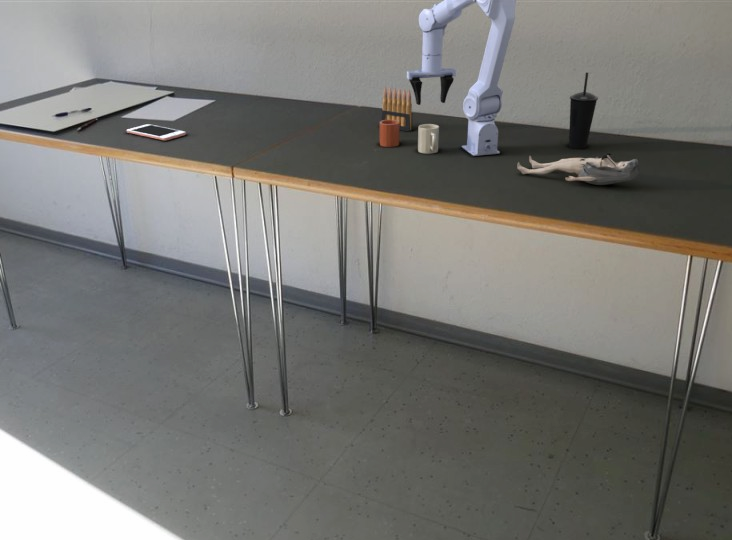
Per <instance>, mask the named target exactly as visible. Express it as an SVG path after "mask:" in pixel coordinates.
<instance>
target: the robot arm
mask: <svg viewBox="0 0 732 540" xmlns="http://www.w3.org/2000/svg"><path fill="white" fill-rule="evenodd" d="M476 3H477V5H478V6H479V8H480V9H481V10H482V11H483V13H484V15H486V17H487V18H489V19H490V21H491V24H490V29H489V31H488V32H489V33H488V37H487V40H486V44H485V49H484V53H483V57H482V60H481V65H480V69H479V73H478V77H477V81H476V82H475V83H474V84H473V85H472V86H471V87H470V88H469V89H468V93H467V95H466V97H465V98H464V100H463V103H462V111H463V113H464V115H465V117H466V119H467V121H468V122H467V136H466V139H467V140H466V145H465V144H464V145H461V148H462V149H463V150H465V151H466V152H468V153H469V154H470V155H471V156H473V157H478V156H479V157H480V156H488V155H499V154H500V153H501V151H499V150H498V142H499V128H498V127H497V125H496V124H495V119H496V118H497V117H498V116H497V115H498V113H500V111H501V109H502V105H503V101H502V98H503V93H504V91H503V89H502V88H501V87H500V86H499V85H498V84H499V81H500V77H501V73H502V69H503V65H504V61H505V58H506V54H507V50H508V47H509V43H510V39H511V35H512V32H513V27H514V24H515V20H516V5H517V0H442V1H441V2H439V3H434V4H433V7H431V8H423V9H422V10H421V12H420V13H419V15H418V25H419V28H420V29H421V31H422V44H421V45H422V50H421V69H416V70H409V71H408V70H407V71H406V79H407V80H408V81H409V83H410V85H411V87H412V91H413V94H414V98H415V104H416V105H418V106H421V104H422V103H421V102H422V86H423V81H422V80H421V79H427V78H439V80H440V97H439V99H440V100H439V101H440V102H441V103H442V104H445V103H446V100H447V96H448V93H449V90H450V88H451V86H452V84H453V83H454V80H455V77H456V76H457V69H456V68H454V67H451V68H449V67H448V68H447V67H446V68H444V67H443V45H444V44H443V40H444V36H445V33H446V28H447V27H448V24H449V23H451V22H453V21H455V20H456V19H458V18H459V17H460V16H462V14H463V10H464V9H466V8H468V7H470V6H471V5H473V4H476Z"/></svg>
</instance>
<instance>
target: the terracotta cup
mask: <svg viewBox="0 0 732 540" xmlns="http://www.w3.org/2000/svg"><path fill="white" fill-rule="evenodd" d="M399 129H400V122H399V121H397V120H383V121H381V120H380V121H379V146H380V147H385V148H395V147H398V146H399V145H400V130H399Z"/></svg>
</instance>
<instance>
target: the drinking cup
mask: <svg viewBox="0 0 732 540" xmlns="http://www.w3.org/2000/svg"><path fill="white" fill-rule="evenodd" d="M588 78H589V72H585V77H584V85H583V91H579V92H576V93H574V94H570V95H569V100H570V104H569V106H570V107H569V128H568V129H569V131H568V132H569V134H568V138H569V139H568V147H569V148H571V149H585V148H587V145H588V141H589V136H590V132H591V128H592V123H593V118H594V115H595V110H596V106H597V101H598V100H599V96H598V95H595V94H594V93H591V92H588V91H587V89H588V88H587V87H588Z"/></svg>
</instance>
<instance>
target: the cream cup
mask: <svg viewBox="0 0 732 540" xmlns="http://www.w3.org/2000/svg"><path fill="white" fill-rule="evenodd" d="M417 131H418V133H417V135H418V136H417V152H418V153H420V154H425V155H429V154H435V153H438V152H439V143H440V142H439V138H440V126H439V125H438V124H433V123H424V124H419V125H418V130H417Z"/></svg>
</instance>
